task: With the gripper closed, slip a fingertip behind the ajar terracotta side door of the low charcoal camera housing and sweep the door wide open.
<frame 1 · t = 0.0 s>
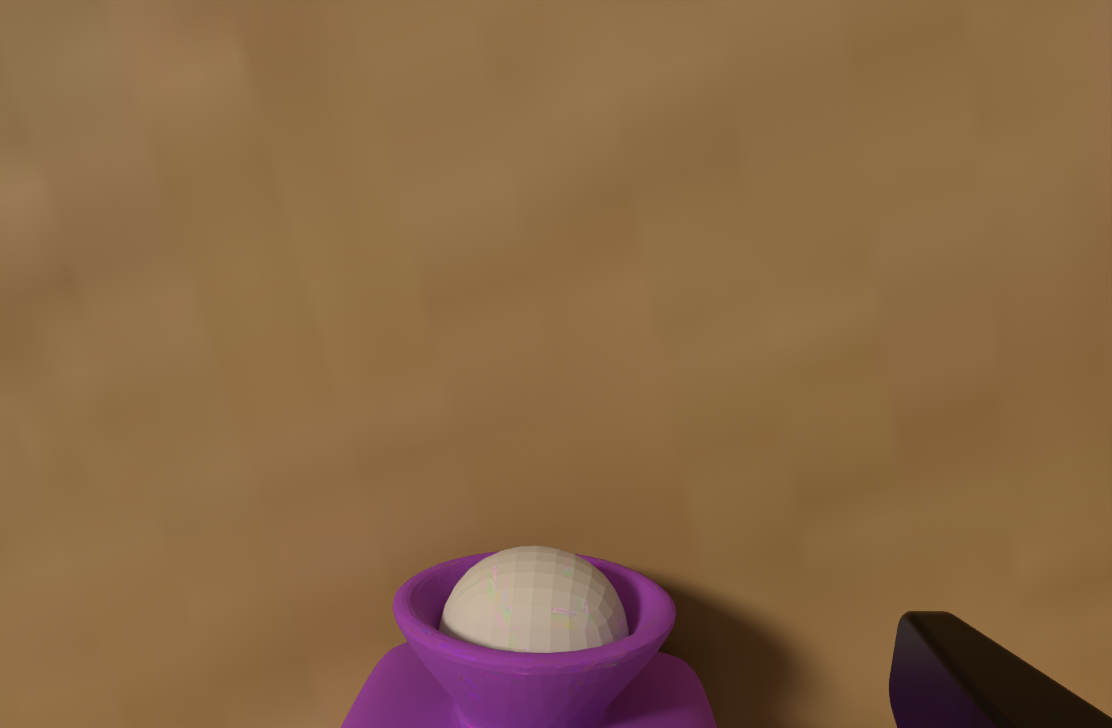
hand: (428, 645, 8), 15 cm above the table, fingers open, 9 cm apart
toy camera: (533, 721, 25), on the table
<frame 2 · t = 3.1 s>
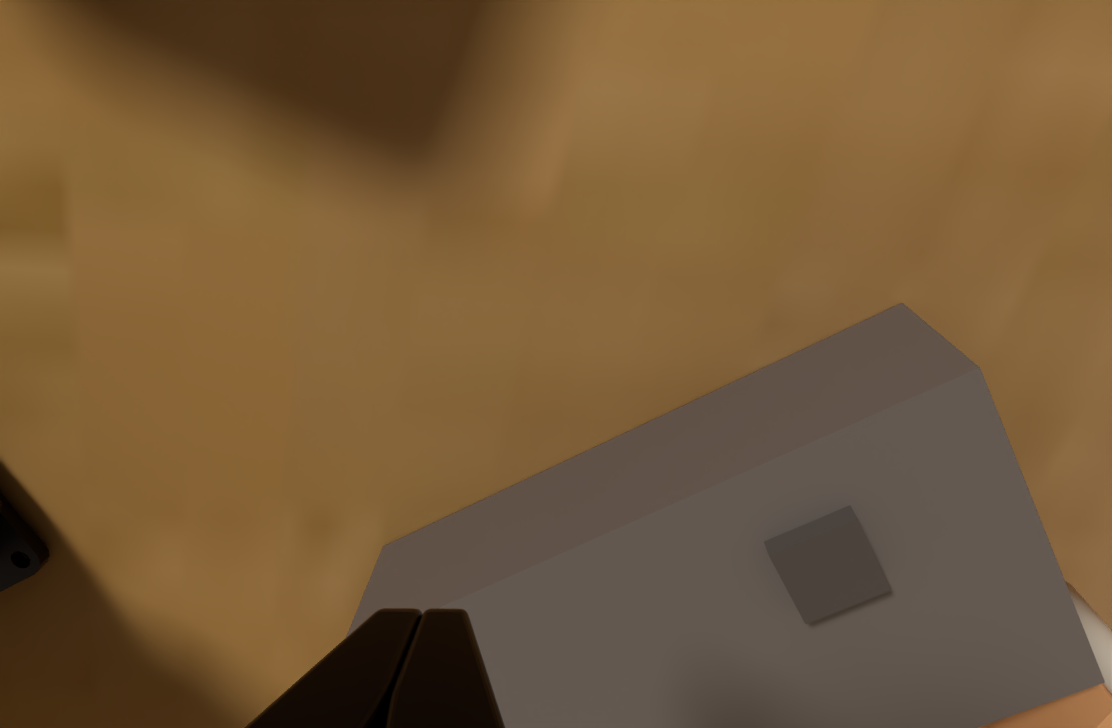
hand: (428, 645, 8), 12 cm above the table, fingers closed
camera housing: (695, 557, 21), on the table
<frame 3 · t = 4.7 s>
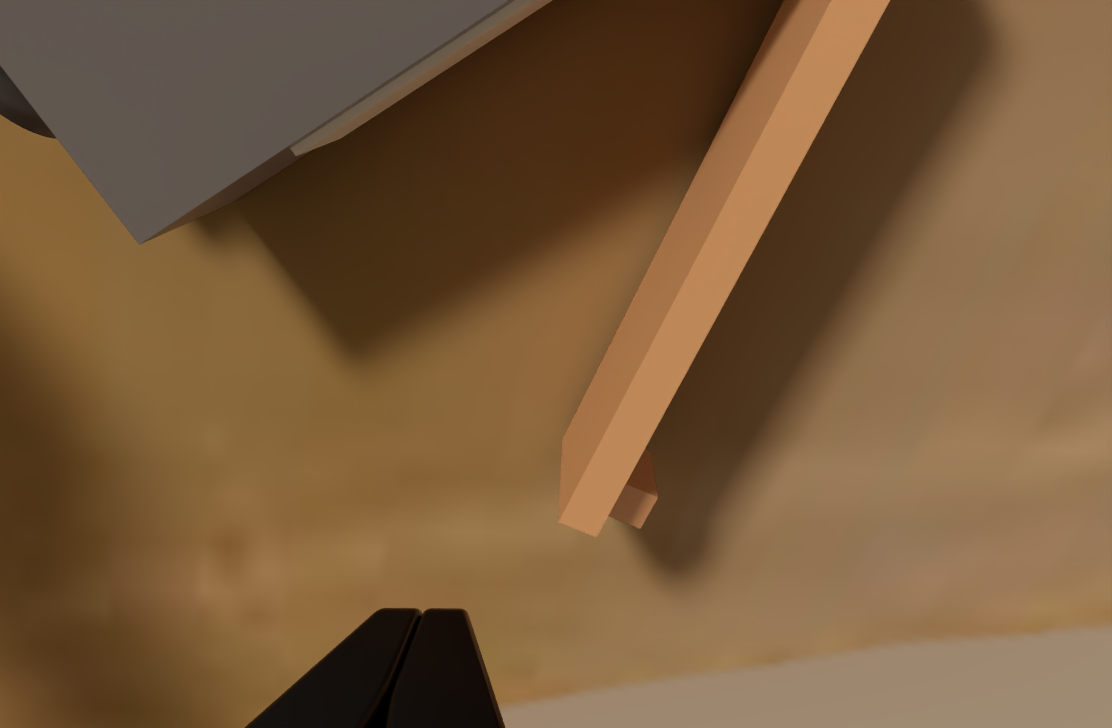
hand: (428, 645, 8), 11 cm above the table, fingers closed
side door: (756, 193, 15), point 2 cm above the table, hinge at 35.0°
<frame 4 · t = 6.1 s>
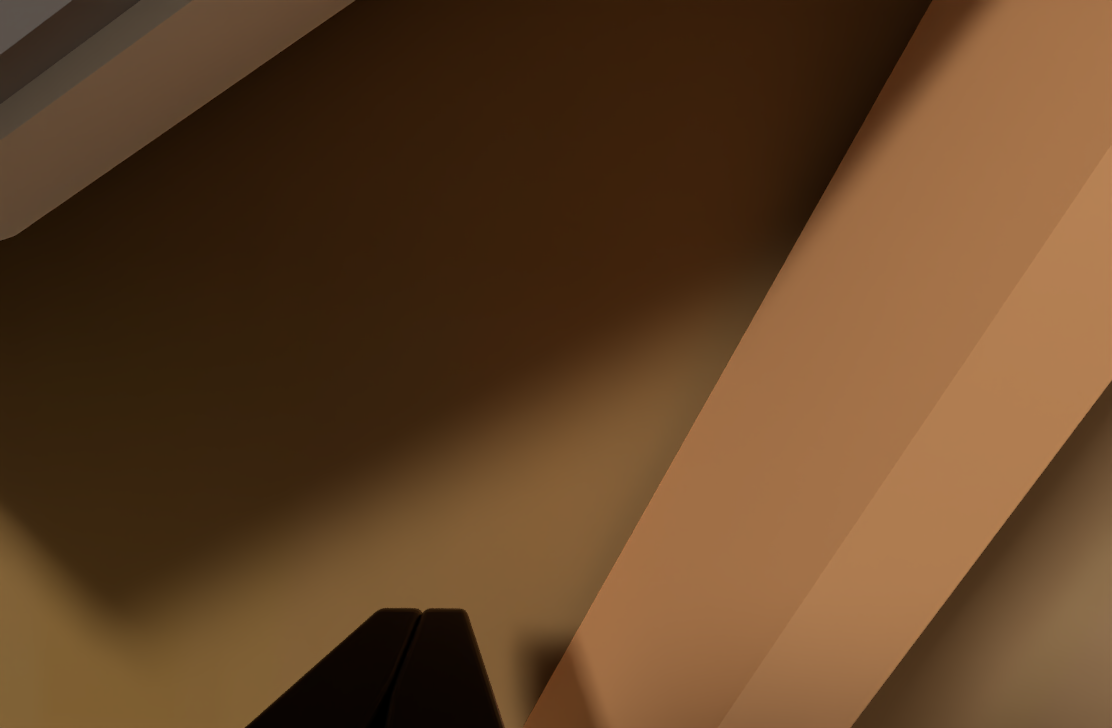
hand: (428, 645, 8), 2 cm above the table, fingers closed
side door: (919, 381, 7), point 2 cm above the table, hinge at 35.0°, touching gripper
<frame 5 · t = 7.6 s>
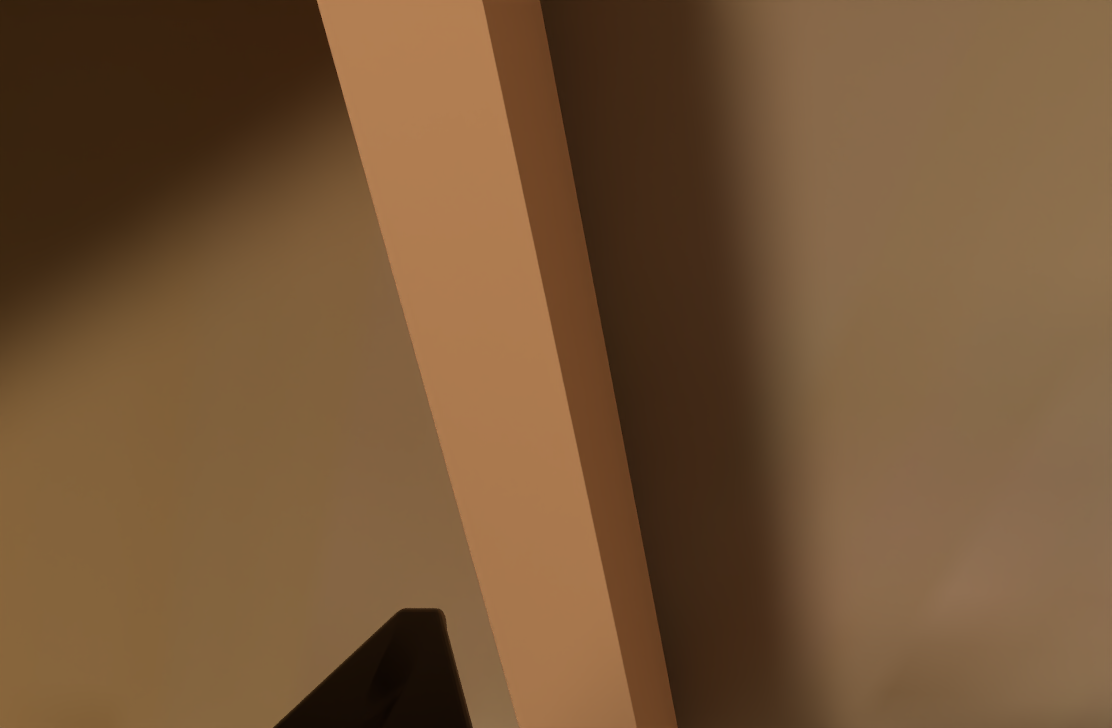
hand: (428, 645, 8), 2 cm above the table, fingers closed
side door: (595, 353, 7), point 2 cm above the table, hinge at 69.9°, touching gripper
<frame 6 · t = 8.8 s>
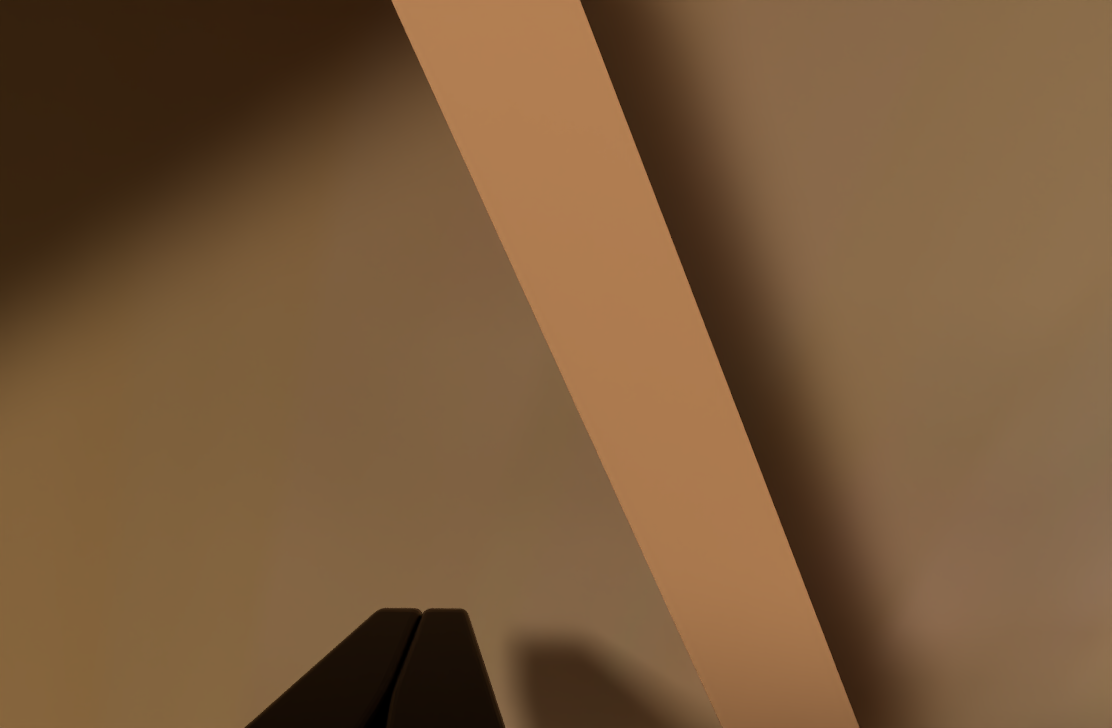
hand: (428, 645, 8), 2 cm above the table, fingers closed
side door: (711, 331, 6), point 2 cm above the table, hinge at 82.6°
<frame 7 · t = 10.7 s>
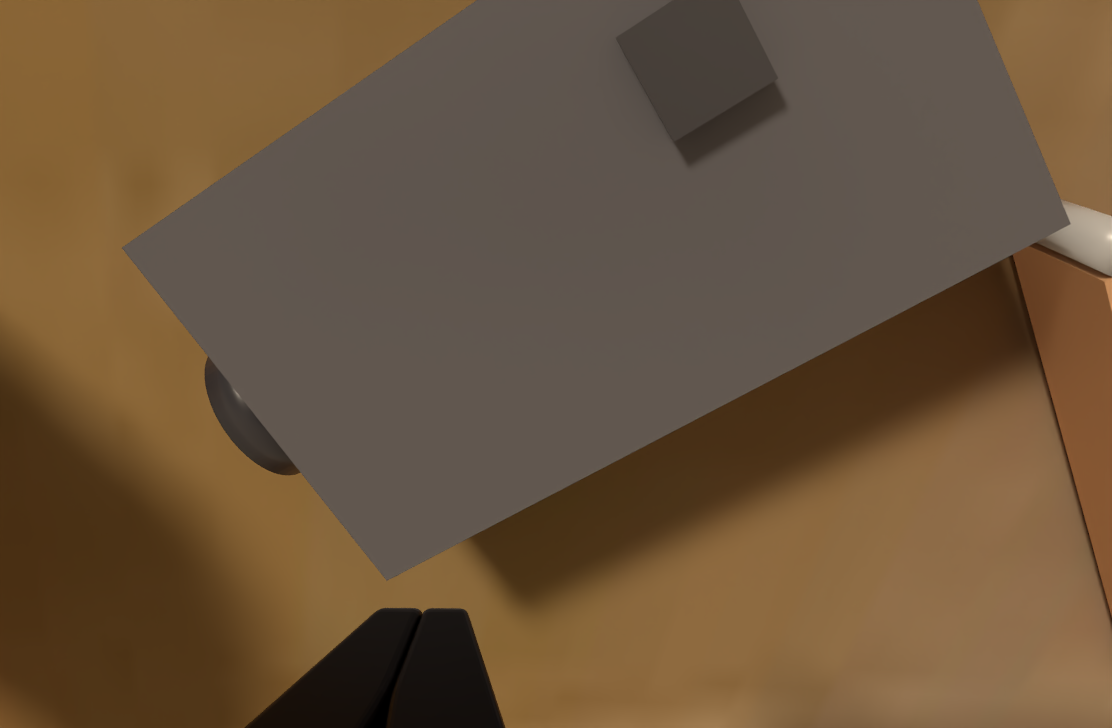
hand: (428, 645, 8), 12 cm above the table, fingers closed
camera housing: (584, 196, 18), on the table
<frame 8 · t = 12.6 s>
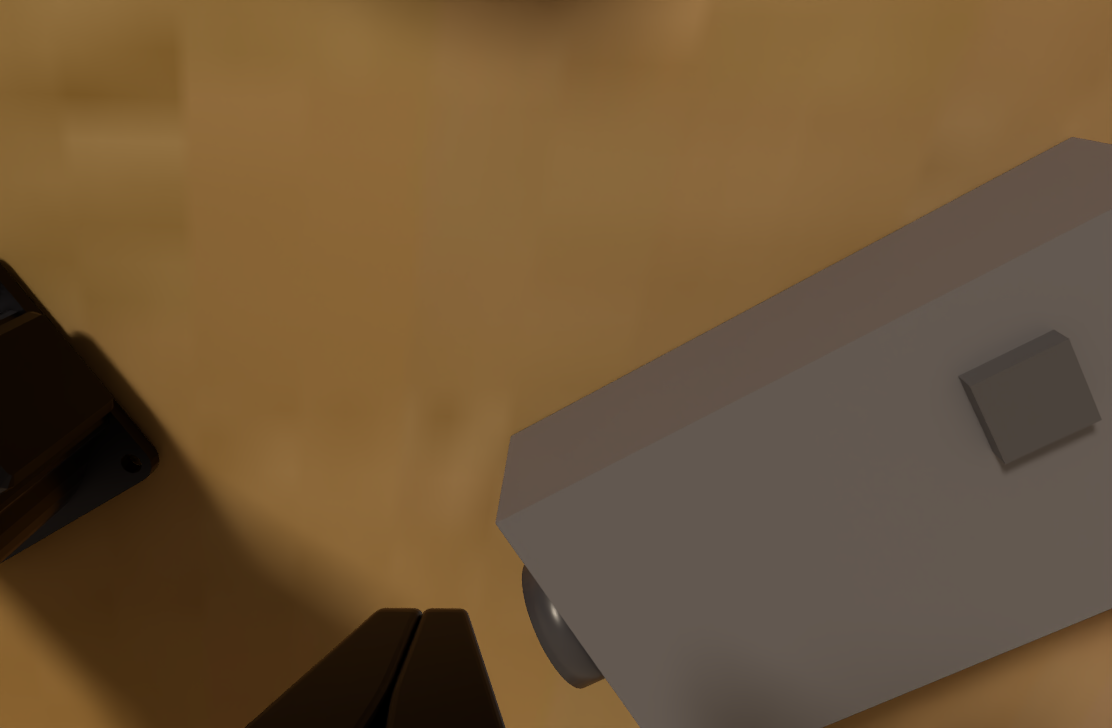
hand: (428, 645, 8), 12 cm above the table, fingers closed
camera housing: (842, 434, 20), on the table
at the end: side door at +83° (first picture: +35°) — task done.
